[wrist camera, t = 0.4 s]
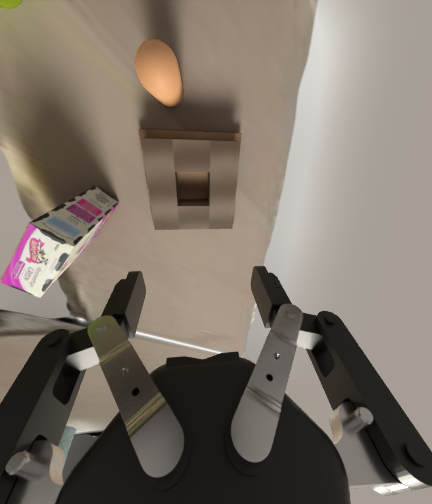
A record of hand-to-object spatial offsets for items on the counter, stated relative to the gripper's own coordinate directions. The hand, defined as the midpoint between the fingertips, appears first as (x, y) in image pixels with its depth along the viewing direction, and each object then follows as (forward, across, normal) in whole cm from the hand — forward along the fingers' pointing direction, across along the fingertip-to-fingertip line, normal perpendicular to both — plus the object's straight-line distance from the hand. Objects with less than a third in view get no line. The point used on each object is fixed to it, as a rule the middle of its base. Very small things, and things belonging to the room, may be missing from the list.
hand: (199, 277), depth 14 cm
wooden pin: (+27, +3, -13) cm, 30 cm away
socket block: (+26, 0, 0) cm, 26 cm away
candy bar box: (+26, +20, +6) cm, 34 cm away
